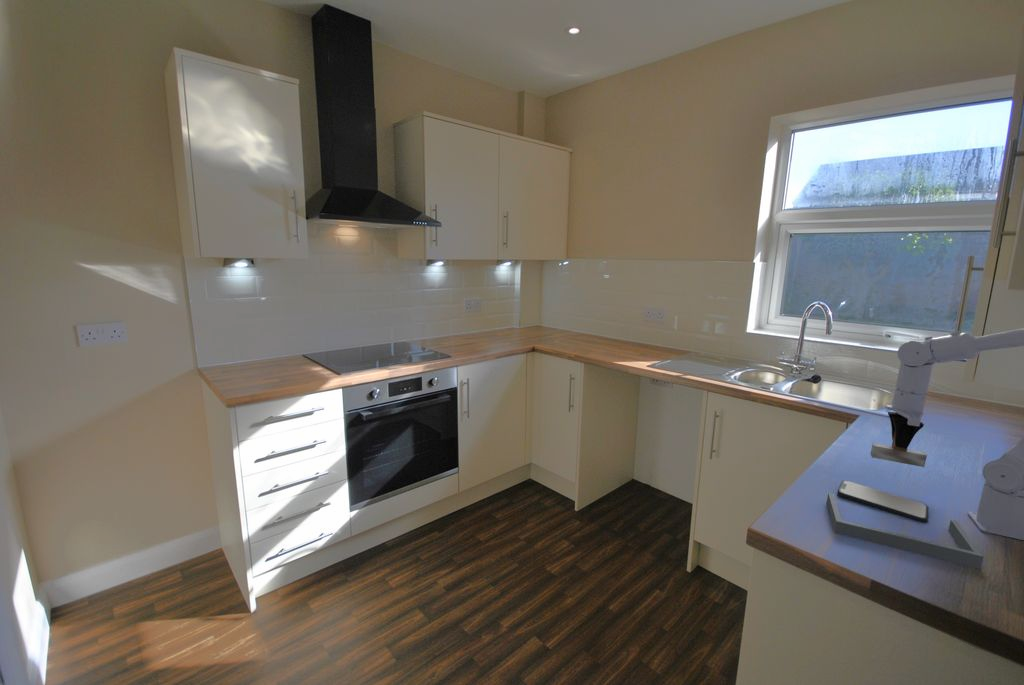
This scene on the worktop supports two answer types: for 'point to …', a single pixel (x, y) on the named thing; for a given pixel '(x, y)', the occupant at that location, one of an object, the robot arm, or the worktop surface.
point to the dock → (910, 539)
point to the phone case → (883, 501)
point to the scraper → (898, 454)
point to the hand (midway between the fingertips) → (899, 445)
